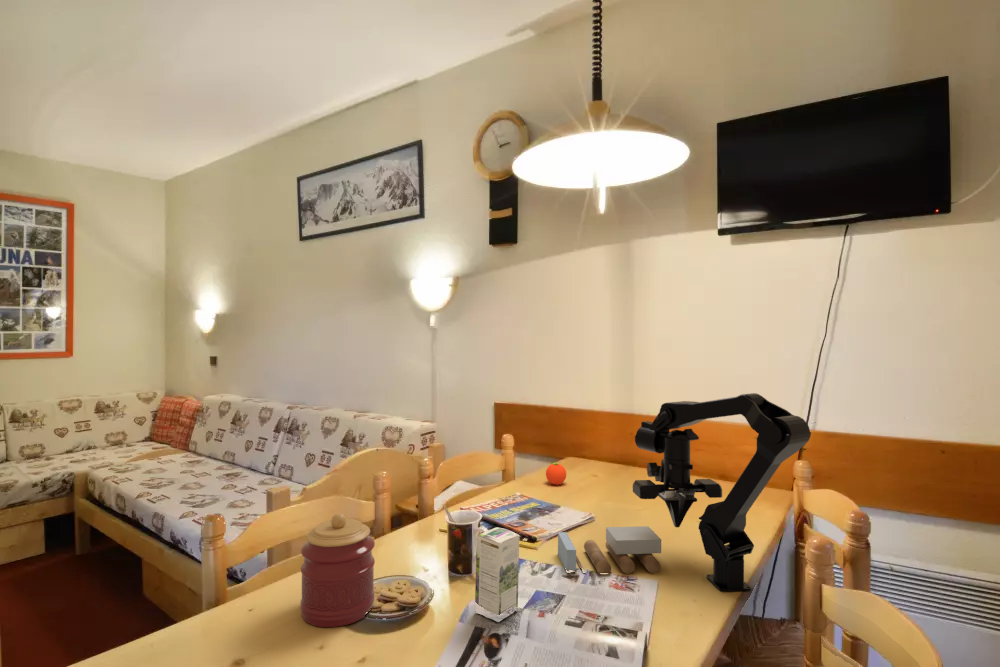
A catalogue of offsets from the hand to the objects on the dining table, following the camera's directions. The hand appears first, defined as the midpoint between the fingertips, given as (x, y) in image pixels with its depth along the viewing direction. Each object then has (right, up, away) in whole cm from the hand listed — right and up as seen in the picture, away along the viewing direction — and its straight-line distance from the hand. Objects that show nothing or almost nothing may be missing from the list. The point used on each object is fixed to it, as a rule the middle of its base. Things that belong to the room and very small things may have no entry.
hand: (676, 526), depth 122 cm
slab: (-10, -4, -1) cm, 11 cm away
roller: (-19, -7, -1) cm, 21 cm away
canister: (-69, -7, -22) cm, 73 cm away
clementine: (-21, -7, +61) cm, 65 cm away
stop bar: (-25, -7, -2) cm, 26 cm away
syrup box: (-40, -8, -23) cm, 47 cm away
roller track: (-14, -7, -1) cm, 16 cm away
